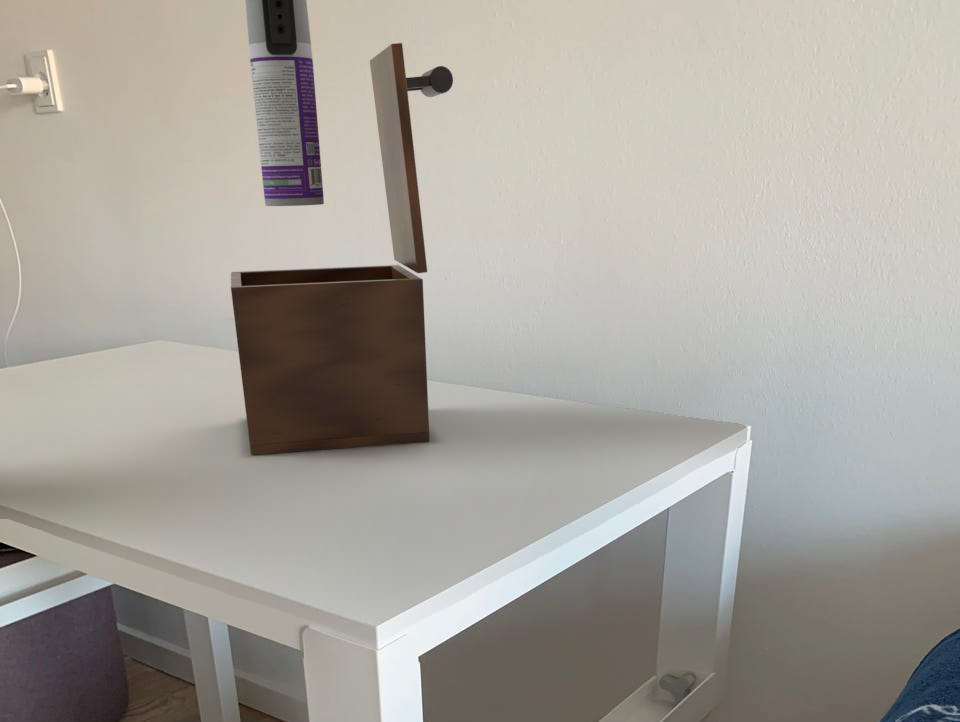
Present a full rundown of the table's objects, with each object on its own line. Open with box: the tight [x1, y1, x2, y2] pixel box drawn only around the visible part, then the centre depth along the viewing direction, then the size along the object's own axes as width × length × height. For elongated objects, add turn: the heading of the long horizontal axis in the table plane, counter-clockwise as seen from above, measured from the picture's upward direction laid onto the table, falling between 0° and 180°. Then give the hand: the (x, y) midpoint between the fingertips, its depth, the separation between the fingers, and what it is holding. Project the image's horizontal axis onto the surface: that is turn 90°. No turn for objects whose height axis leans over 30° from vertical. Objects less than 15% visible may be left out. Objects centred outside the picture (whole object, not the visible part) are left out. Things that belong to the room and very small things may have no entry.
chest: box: [230, 264, 430, 456], centre depth 85 cm, size 15×13×13 cm
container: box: [245, 0, 325, 207], centre depth 77 cm, size 5×5×15 cm
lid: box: [369, 42, 454, 274], centre depth 80 cm, size 15×13×5 cm
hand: (280, 56), depth 76 cm, fingers closed on container, 4 cm apart
